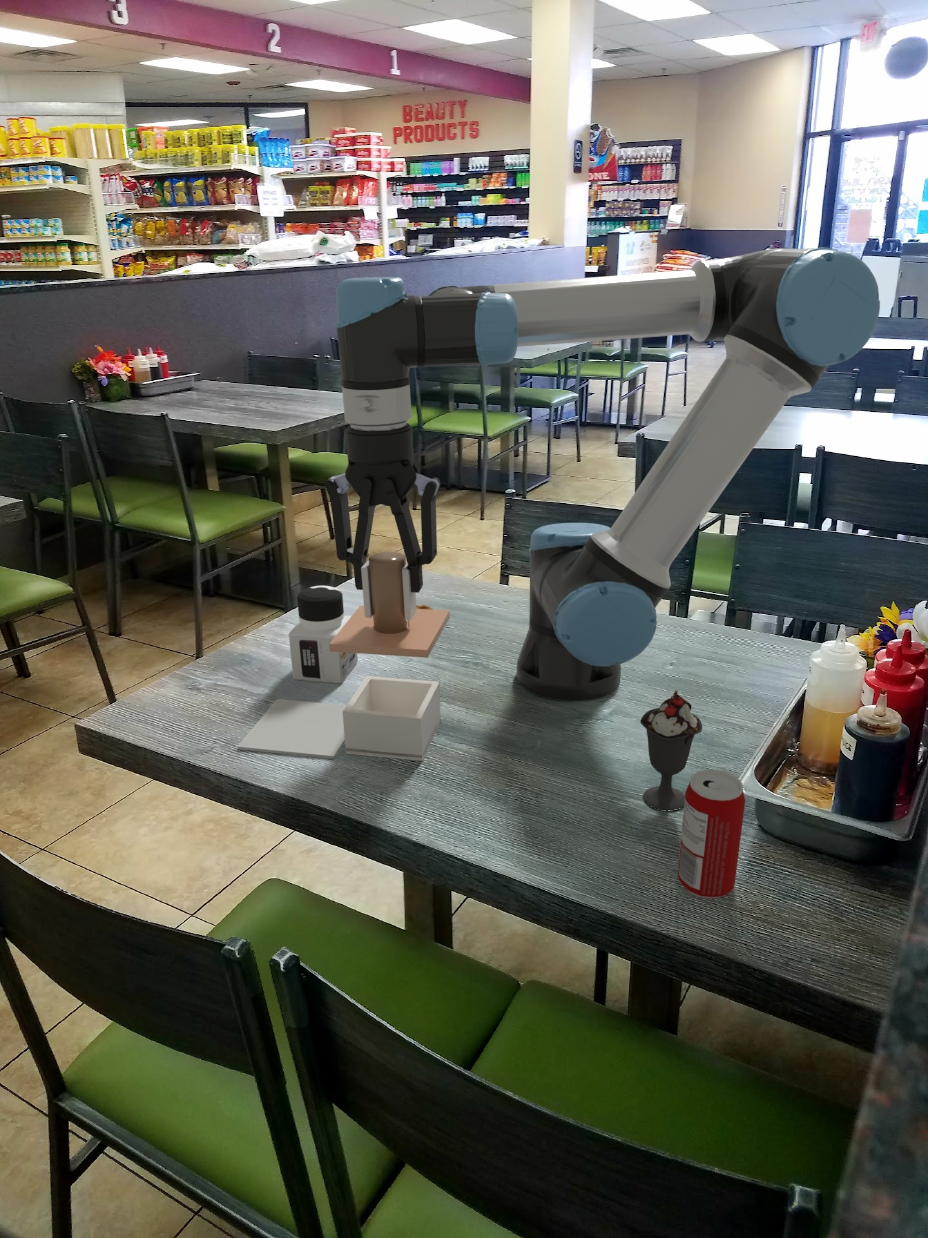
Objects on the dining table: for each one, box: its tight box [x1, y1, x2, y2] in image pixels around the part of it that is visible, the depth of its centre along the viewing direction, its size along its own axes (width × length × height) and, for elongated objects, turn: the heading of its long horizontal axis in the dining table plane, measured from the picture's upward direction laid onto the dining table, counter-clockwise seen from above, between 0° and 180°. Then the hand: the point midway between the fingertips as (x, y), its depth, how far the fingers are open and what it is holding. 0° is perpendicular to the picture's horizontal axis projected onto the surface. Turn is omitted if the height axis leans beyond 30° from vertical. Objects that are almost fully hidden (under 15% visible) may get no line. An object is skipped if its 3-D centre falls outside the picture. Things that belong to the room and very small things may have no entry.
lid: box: [329, 551, 451, 659], centre depth 110 cm, size 12×12×10 cm
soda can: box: [677, 769, 746, 900], centre depth 88 cm, size 6×6×12 cm
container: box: [288, 585, 359, 684], centre depth 133 cm, size 8×8×13 cm
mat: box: [236, 698, 347, 760], centre depth 120 cm, size 13×13×1 cm
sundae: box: [639, 690, 703, 812], centre depth 101 cm, size 7×7×15 cm
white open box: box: [343, 675, 442, 762], centre depth 116 cm, size 10×10×6 cm
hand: (390, 614), depth 111 cm, fingers closed on lid, 4 cm apart
